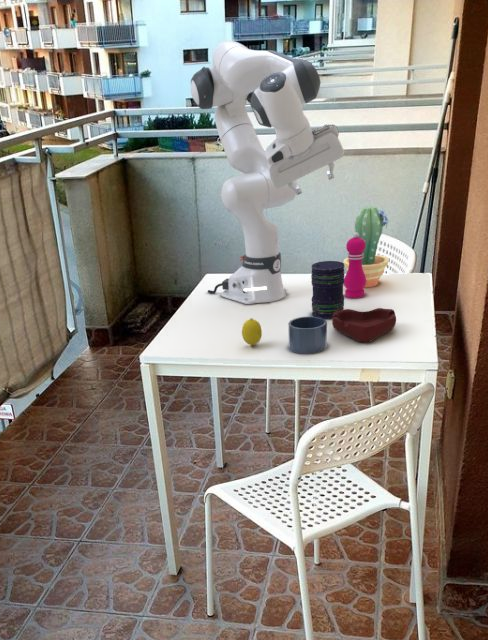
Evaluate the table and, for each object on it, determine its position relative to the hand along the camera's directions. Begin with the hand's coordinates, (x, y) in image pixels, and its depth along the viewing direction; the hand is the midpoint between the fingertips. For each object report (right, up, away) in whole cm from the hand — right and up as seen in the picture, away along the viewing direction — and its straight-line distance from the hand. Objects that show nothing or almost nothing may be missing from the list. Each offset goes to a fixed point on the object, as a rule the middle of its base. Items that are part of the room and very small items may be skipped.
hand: (315, 185), depth 189 cm
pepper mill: (+18, -20, +39) cm, 47 cm away
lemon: (-17, -43, +6) cm, 46 cm away
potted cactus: (+24, -13, +49) cm, 56 cm away
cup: (-2, -44, +2) cm, 44 cm away
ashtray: (+15, -39, +7) cm, 43 cm away
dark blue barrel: (+7, -29, +25) cm, 39 cm away
